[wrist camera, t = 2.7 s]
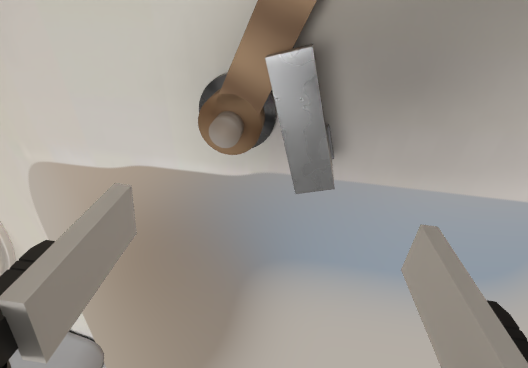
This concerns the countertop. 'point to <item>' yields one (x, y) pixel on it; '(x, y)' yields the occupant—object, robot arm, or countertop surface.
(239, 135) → the latch bar
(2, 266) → the plate stack
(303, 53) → the keeper
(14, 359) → the plastic bottle
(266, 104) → the base
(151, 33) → the countertop surface
